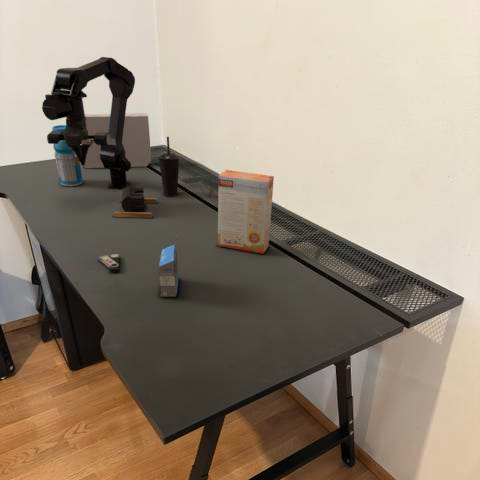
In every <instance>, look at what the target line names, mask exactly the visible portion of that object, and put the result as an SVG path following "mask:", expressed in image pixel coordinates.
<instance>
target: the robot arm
mask: <svg viewBox="0 0 480 480" xmlns="http://www.w3.org/2000/svg"><path fill="white" fill-rule="evenodd" d="M102 76H104V78H105V79H106V80H107V81H108V88H109V90H110V93H111V95H112V96H111V97H112V98H111V107H110V113H109V114H110V123H109V132H96V134H95V135H88V130H87V126H86V116H85V114H86V113H85V107H84V101H83V99H84V98H87V97H88V94H87V93H86V92H84V91H83V90H84V89H85V88H87V86H88V83H89V82H90V81H93V80H96V79H97V78H100V77H102ZM135 85H136V78H135V75H134V73H133V72H132V71H131V70H129V69H128V68H127V67H125V66H124V65H122V64H120V63H119V62H118V61H117V60H116V59H115V58H113V57H109V56H108V57H107V56H100V57H99V58H98V59H96V60H92V61H91V62H87V63H85V64H83V65H80V66H78V67H61V68H59V69H57V71H56V75H55V78H54V81H53V85H52V89H51V91H50V94H49V93H47V94H45V95H44V98H45V99H44V100H43V101H42V105H41V110H42V113H43V115H44V116H45V117H46V119H48V120H50V121H57V120H61V119H63V118H66V119H65V125H66V128H65V131H64V132H63V131H52V130H51V131H50V132H49V133H48V134H47V135H46V140H47V144H49V145H54V144H58V143H59V142H60V140H65V142H66V144H67V147H71V148H72V149H73V150H74V152H75V153H76V155H77V157H78V159H79V161H80V165H81V166H85V162H86V157H87V152H88V149H89V147H90V146H91V145H92V144H93V141H94V143H96V144H97V145H101V149H100V153H99V155H100V160H101V161H102V163H103V166H104V168H103V169H105V170H109V174H110V182H111V183H110V184H109V186H108V188H110V189H124V188H126V187H127V186H130V181H128V178H127V172H129V171H130V170H131V169H132V167H131V163H130V162H129V161H128V160H127V158H126V157H125V149H124V146H123V144H122V137H123V129H124V121H125V113H127V112H126V111H127V105H128V99H129V98H130V97H131V95H132V94H133V92H134V88H135Z"/></svg>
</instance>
